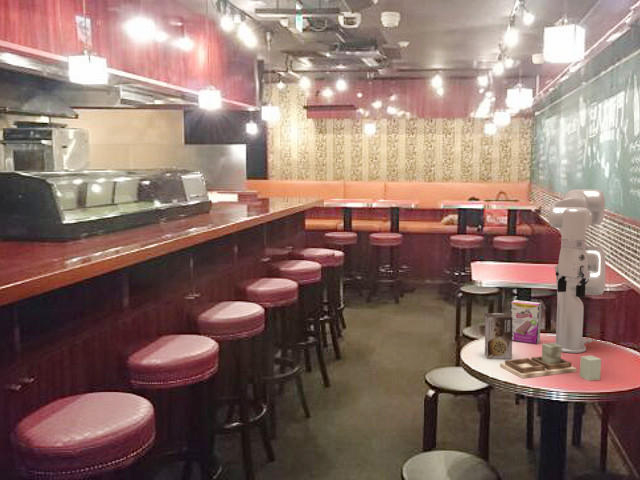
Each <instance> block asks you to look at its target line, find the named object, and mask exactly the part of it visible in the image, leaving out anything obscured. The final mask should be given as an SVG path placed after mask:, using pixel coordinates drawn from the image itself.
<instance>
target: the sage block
mask: <svg viewBox="0 0 640 480" xmlns="http://www.w3.org/2000/svg"><path fill="white" fill-rule="evenodd" d="M601 371H602V359H601V358H600V357H598V356H597V357H596V356H594V355H592V354H591V355H584V356H580V364H579V377H580V378H582V379H585V380H586V381H589V382H590V381H600V380H601Z"/></svg>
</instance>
